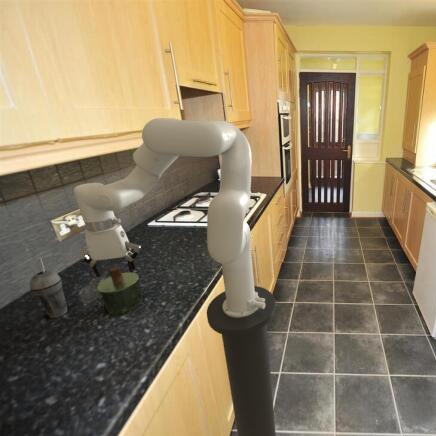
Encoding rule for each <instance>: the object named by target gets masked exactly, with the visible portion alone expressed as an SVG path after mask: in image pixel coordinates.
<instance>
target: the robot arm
mask: <svg viewBox="0 0 436 436" xmlns="http://www.w3.org/2000/svg"><path fill="white" fill-rule="evenodd" d="M141 138H142V139H141V140H142V144H140V145H139V147H138V148H137V149H136V150H134V152H133V154H132V160H133V162H134V163H135V167H134V168H133V169H132V171H131V172H130V173H129V174H128V175H127V176H125V178H123V179H119V180H116V181H114V182H111V183H108V184H103V183H101V182H89V183H84V184H82V183H81V184H79V185H77V186H75V187H74V188H73V194H74V197H75V200H76V203H77V205H78V208H79V211H80V214H81V217H82V220H83V223H84V226H85V228H86V230H85V233H84V234H85V244H86V248H85V249H84V250H81V251H80V252H79V253H78V254H77V257H79V258H80V259H81V260H83V262H84V263H86V264H89V267H91V268H92V269H93V272H94V273H93V274H95V275H96V278H100V277H101V276H102V275H103V274H104V272H105V271H104V270H105V269H104V268H103V267H104V266H103V265H102V262H101V261H105V260H106V261H107V260H113V259H121V258H123V259H125V260H126V261H127V266H128V269H129V272H130V273H135V271H136V269H137V268H138V265H137V261H136V258H137V256H138V255H139V254H140V251H141V248H142V246H141V245H140V244H136V243H133V242H130V240H129V238H128V236H127V233H126V232H125V229H124V228H123V227H122V224H121V223H122V219H121V218H117V217H116V215H115V213H114V212H116V211H121V210H123V209H124V208H126V207H129V206H130V205H132V204H134V203H136V202H139V201H140V200H141V199H143V198H144V197H145V196H146V195H147V194H148V193H149V192H150V191H151V190H152V189H153V188H154V187H155V186H156V184H158V182H159V181H160V179H161V178H162V175H163V174H164V172H166V170H167V169H169V167H170V166H171V165H172V164H173V163H175V161H176V160H177V159H178V158H179V157H197V158H208V157H210V158H211V157H215V156H219V155H221V163H220V164H221V165H220V171H219V175H220V176H219V177H220V179H219V189H218V190H219V191H218V192H217V194H216V195H215V196H214V197H212V199H211V200H210V202H209V204H208V209H207V216H206V245H207V252H208V254H209V255H210V257H211V258H212V260H214V261H215V262H216V263H218V264H221V272H222V279H223V286H224V291H225V294H226V300H225V301H224V303H223V311H224V313H225V314H226V315H228V316H230V317H234V318H241V317H246V316H248V315H251V314H253V313H254V312H255V311H256V310H257V309H258V308H261V309H264V308H265V303H264V302H265V299H264V298H259V297H258V292H255V290H254V286H255V280H254V270H253V258H252V257H253V256H252V232H251V229H250V226H249V224H248V223H247V222H246V220H245V217H246V215H247V213H248V211H249V210H250V207H251V187H252V164H253V163H252V149H251V146H250V143H249V140H248V139H247V137H246V136H245V134H244V132H243V131H242V130H240V129H239V128H238V127H237V126H236V125H235V124H233V123H230V122H229V121H226V120H222V119H208V120H207V119H206V120H203V119H202V120H198V119H179V118H176V117H174V118H173V117H156V118H152V119H150V120H149V121H148V122H146V123H145V125H144V126H143V128H142V131H141ZM131 250H133V252H132V251H131ZM87 254H88V255H89V256H88V255H87ZM262 302H263V303H262Z"/></svg>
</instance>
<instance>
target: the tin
mask: <svg viewBox="0 0 436 436" xmlns="http://www.w3.org/2000/svg"><path fill="white" fill-rule="evenodd" d="M100 294H101V298H102V301H103V304H104V307H105V309H106V312H107V313H108V314H110V315H122V314H125V313H129V312H131V311H133V310H134V309H135V310H136V308H138V307H139V306H140V305H141V304H142V303H143V301H144V296H143V293H142V289H141V285H140V282H139V280H138V281H137V282H136V283H135V284H134V285H133V286H131V287H129V288H127V289H125V290H122V291H119V292H115V293H107V294H106V293H100Z"/></svg>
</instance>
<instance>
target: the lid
mask: <svg viewBox="0 0 436 436" xmlns="http://www.w3.org/2000/svg"><path fill="white" fill-rule="evenodd" d="M108 271H109V275H110V276H109V277H107V278H105V279H103V280H102V281H101V282H100V283H99V284H98V285H97V288H96V289H97V291H98V292H99V293H100V294H101V293H106V294H107V293H115V292H119V291H122V290H125V289H127V288H129V287H131V286H133V285H134V284H135V283H136V282H137V281H139V279H140V277H139V275H138V273H136V272H133V273H131V272H130V271H129V272H122V269H121V266H119V265H118V266H117V265H116V266H113V267H110V268H109V269H108Z"/></svg>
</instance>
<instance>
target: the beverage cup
mask: <svg viewBox="0 0 436 436" xmlns="http://www.w3.org/2000/svg"><path fill="white" fill-rule="evenodd" d="M39 263H40V267H41V271H39V272H37V273H35V274H34V275H33V276H32V277H31V279H30V281H29V289H30V291H31V292H32V293H33V294H34V295H35V296H36V298H37V300H38V302H39V303H40V304H41V306H42V308H43V310H44V312H45V313H46V315H48V317H49V319H57V318H61V317H62V316H64V315H66V314H67V313H68V304H67V301H66V298H65V297H66V296H65V293H64V290H63V282H62V277H60V275H59V274H58V273H57V272H55V271H52V270H46V269H45V266H44V262H43V258H42V257H39Z"/></svg>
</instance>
